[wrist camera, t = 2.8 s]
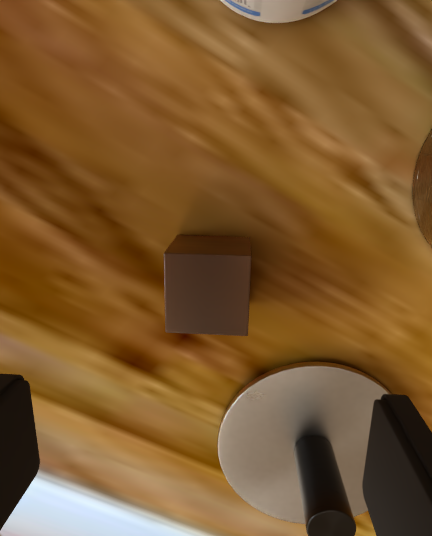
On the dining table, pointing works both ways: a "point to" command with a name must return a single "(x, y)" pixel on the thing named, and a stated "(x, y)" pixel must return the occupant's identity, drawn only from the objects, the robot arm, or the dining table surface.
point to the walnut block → (207, 285)
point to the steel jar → (424, 189)
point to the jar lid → (301, 444)
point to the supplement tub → (277, 9)
